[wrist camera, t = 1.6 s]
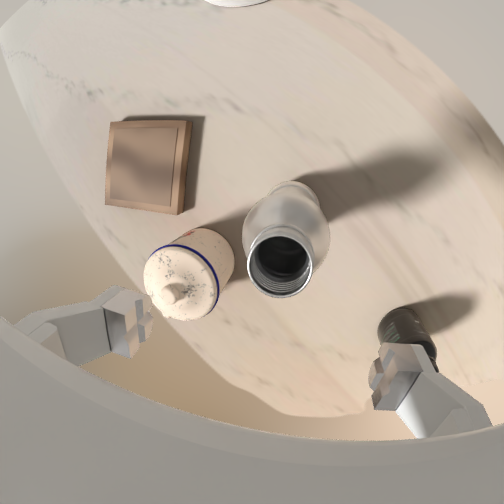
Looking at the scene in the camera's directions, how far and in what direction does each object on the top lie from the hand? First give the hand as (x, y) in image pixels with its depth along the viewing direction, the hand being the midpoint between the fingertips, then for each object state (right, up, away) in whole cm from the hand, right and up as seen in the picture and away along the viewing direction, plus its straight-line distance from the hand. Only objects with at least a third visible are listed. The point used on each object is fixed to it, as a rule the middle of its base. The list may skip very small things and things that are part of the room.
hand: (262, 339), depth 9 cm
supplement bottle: (+21, -8, +27) cm, 35 cm away
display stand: (-15, +15, +26) cm, 33 cm away
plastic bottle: (+5, +8, +25) cm, 26 cm away
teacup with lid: (-8, +1, +29) cm, 30 cm away
